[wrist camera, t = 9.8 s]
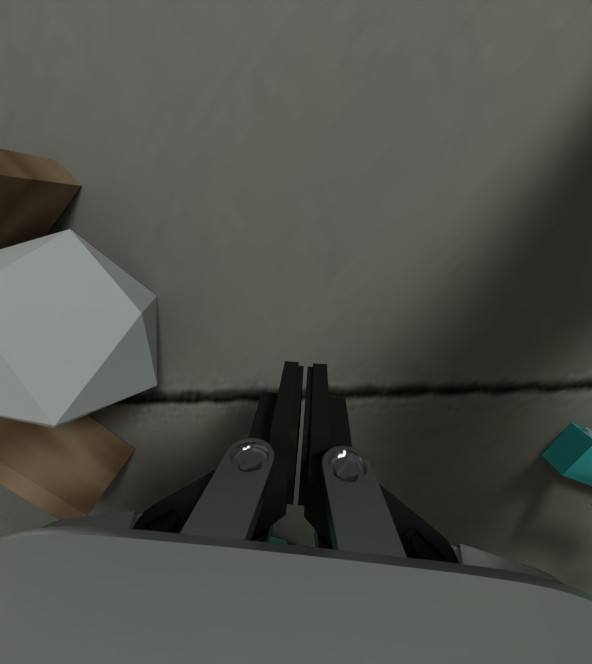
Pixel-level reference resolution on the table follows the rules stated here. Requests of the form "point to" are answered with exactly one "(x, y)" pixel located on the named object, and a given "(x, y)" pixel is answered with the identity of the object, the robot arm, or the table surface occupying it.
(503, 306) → the table surface
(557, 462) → the chart
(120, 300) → the die
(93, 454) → the bracket
